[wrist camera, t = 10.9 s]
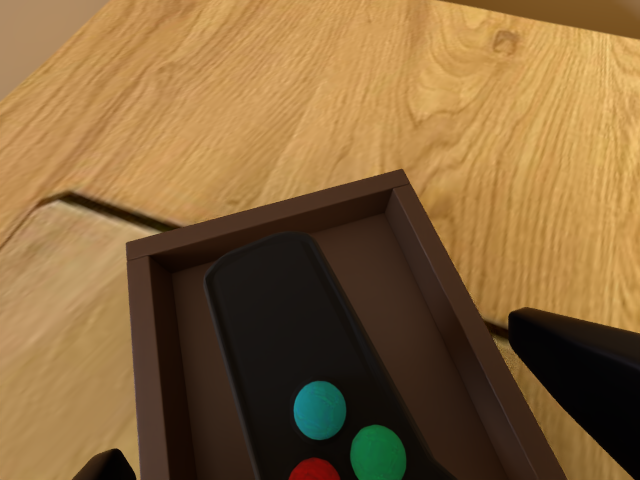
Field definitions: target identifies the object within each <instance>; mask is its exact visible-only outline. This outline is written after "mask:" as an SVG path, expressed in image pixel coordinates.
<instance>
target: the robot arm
mask: <svg viewBox="0 0 640 480" xmlns="http://www.w3.org/2000/svg"><path fill="white" fill-rule="evenodd" d="M508 331H509V343H510V345H511V347H512V349H513V350H514V352H515V353H516V354H517V355H518V356H519V358H520V359H521V360H522V361H523V362H524V363H525V365H526V366H527V367H528V368H529V369H530V371H531V372H532V373H533V374H534V375H535V376H536V378H537V379H538V380H539V381H540V382H541V383H542V385H543V386H544V387H545V388H546V389H547V391H548V392H549V393H550V394H551V395H552V396H553V398H554V399H555V400H556V401H557V402H558V403H559V404H560V405H561V407H562V408H563V409H564V410H565V411H566V412H567V413H568V414H569V415H570V416H571V417H572V418H573V419H574V420H575V421H576V422H577V423H578V424H579V425H580V426H581V427H582V428H583V429H584V430H585V431H586V432H587V433H588V434H589V435H590V436H591V437H592V438H593V439H594V440H595V441H596V442H597V443H598V444H599V445H600V446H601V447H602V448H603V449H604V450H605V451H606V452H607V453H608V454H609V455H610V456H611V457H612V458H613V459H614V460H615V461H616V462H617V463H618V464H619V465H620V466H621V467H622V468H623V469H624V470H625V471H626V472H627V473H628V474H629V475H630V476H631V477H632V478H633V479H634V480H640V333H636V332H631V331H627V330H623V329H619V328H614V327H610V326H606V325H602V324H597V323H593V322H589V321H585V320H580V319H576V318H572V317H568V316H563V315H559V314H555V313H551V312H546V311H542V310H538V309H533V308H529V307H524V308H521V309H518V310H515V311H512V312H511V313H510V314H509V316H508ZM72 480H136V475H135V473H134V471H133V469H132V468H131V466H130V465H129V463H128V461H127V460H126V458H125V457H124V455H123V453H122V452H121V451H120V450H119V449H111V450H108V451H105V452H102V453H99V454H97V455H95V456H94V457H92V458H91V459H90V460H89V462H88V463H87V464H86V465H85V466H84V467H83V468H82V469H81V470H80V471H79V472H78V473H77V475H76V476H75V477H74V478H73V479H72Z"/></svg>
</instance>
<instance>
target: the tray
mask: <svg viewBox="0 0 640 480" xmlns="http://www.w3.org/2000/svg"><path fill="white" fill-rule="evenodd" d="M285 231H299V232H305V233H308V234H310V235H311V236H312V237H313V238H315V239H316V241H317V242H318V244H319V246H320V248H321V250H322V251H323V253H324V255H325V257H326V259H327V260H328V262H329V264H330V266H331V267H332V269H333V271H334V273H335V275H336V277H337V278H338V280H339V282H340V284H341V286H342V288H343V289H344V291H345V293H346V295H347V297H348V299H349V300H350V302H351V304H352V306H353V308H354V310H355V311H356V313H357V315H358V317H359V319H360V321H361V322H362V324H363V326H364V328H365V330H366V332H367V334H368V335H369V337H370V339H371V341H372V343H373V345H374V346H375V348H376V350H377V352H378V354H379V356H380V357H381V359H382V361H383V363H384V365H385V367H386V368H387V370H388V372H389V374H390V376H391V378H392V379H393V381H394V383H395V385H396V387H397V389H398V390H399V392H400V394H401V396H402V398H403V400H404V402H405V403H406V405H407V407H408V409H409V411H410V413H411V414H412V416H413V418H414V420H415V422H416V424H417V425H418V427H419V429H420V431H421V433H422V435H423V436H424V438H425V440H426V442H427V444H428V446H429V448H430V450H431V452H432V455H433V456H434V458H435V459H436V460H437V461H438V462H439V463H440V464H441V465H442V466H443V467H445V468H446V469H447V470H448V471H449V472H450V473H451V474H453V475H454V476H455V477H456V478H457V479H458V480H567V478H566V476H565V474H564V472H563V470H562V468H561V467H560V465H559V463H558V461H557V459H556V457H555V455H554V453H553V452H552V450H551V448H550V446H549V444H548V442H547V440H546V438H545V436H544V435H543V433H542V431H541V429H540V427H539V425H538V423H537V421H536V419H535V418H534V416H533V414H532V412H531V410H530V408H529V406H528V404H527V402H526V401H525V399H524V397H523V395H522V393H521V391H520V389H519V387H518V385H517V384H516V382H515V380H514V378H513V376H512V374H511V372H510V370H509V368H508V367H507V365H506V363H505V361H504V359H503V357H502V355H501V353H500V351H499V350H498V348H497V346H496V344H495V342H494V340H493V338H492V336H491V335H490V333H489V331H488V329H487V327H486V325H485V323H484V321H483V319H482V318H481V316H480V314H479V312H478V310H477V308H476V306H475V304H474V302H473V301H472V299H471V297H470V295H469V293H468V291H467V289H466V287H465V285H464V284H463V282H462V280H461V278H460V276H459V274H458V272H457V270H456V268H455V267H454V265H453V263H452V261H451V259H450V257H449V255H448V253H447V251H446V250H445V248H444V246H443V244H442V242H441V240H440V238H439V236H438V235H437V233H436V231H435V229H434V227H433V225H432V223H431V221H430V219H429V218H428V216H427V214H426V212H425V210H424V208H423V206H422V204H421V202H420V201H419V199H418V197H417V195H416V193H415V191H414V189H413V187H412V185H411V184H410V182H409V180H408V178H407V176H406V174H405V172H404V170H403V169H399V170H396V171H392V172H388V173H384V174H381V175H377V176H373V177H370V178H366V179H362V180H358V181H355V182H351V183H347V184H343V185H340V186H336V187H332V188H328V189H325V190H321V191H317V192H313V193H310V194H306V195H302V196H298V197H295V198H291V199H287V200H283V201H280V202H276V203H272V204H269V205H265V206H261V207H257V208H254V209H250V210H246V211H242V212H239V213H235V214H231V215H227V216H224V217H220V218H216V219H212V220H209V221H205V222H201V223H197V224H194V225H190V226H186V227H183V228H179V229H175V230H171V231H168V232H164V233H160V234H156V235H153V236H149V237H145V238H141V239H138V240H134V241H130V242H127V243H126V256H127V276H128V292H129V307H130V322H131V338H132V353H133V369H134V384H135V400H136V415H137V431H138V446H139V461H140V477H141V480H256V479H255V475H254V471H253V468H252V464H251V461H250V457H249V453H248V450H247V446H246V442H245V439H244V435H243V431H242V428H241V424H240V421H239V417H238V413H237V410H236V406H235V402H234V399H233V395H232V391H231V388H230V384H229V381H228V377H227V373H226V370H225V366H224V362H223V359H222V355H221V351H220V348H219V344H218V341H217V337H216V333H215V330H214V326H213V322H212V318H211V315H210V311H209V307H208V303H207V299H206V295H205V291H204V288H203V283H204V276H205V273H206V272H207V270H208V269H209V268H210V267H211V265H213V264H214V263H215V262H216V261H217V260H218V259H219V258H220V257H222V256H223V255H225V254H226V253H228V252H230V251H232V250H234V249H237V248H239V247H242V246H244V245H247V244H249V243H252V242H254V241H257V240H259V239H262V238H264V237H267V236H269V235H272V234H274V233H279V232H285Z"/></svg>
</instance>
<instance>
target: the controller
mask: <svg viewBox="0 0 640 480" xmlns="http://www.w3.org/2000/svg"><path fill="white" fill-rule="evenodd" d="M203 288H204V291H205V295H206V299H207V303H208V307H209V311H210V315H211V318H212V322H213V326H214V330H215V333H216V337H217V341H218V344H219V348H220V351H221V355H222V359H223V362H224V366H225V370H226V373H227V377H228V381H229V384H230V388H231V391H232V395H233V399H234V402H235V406H236V410H237V413H238V417H239V421H240V424H241V428H242V431H243V435H244V439H245V442H246V446H247V450H248V453H249V457H250V461H251V464H252V468H253V471H254V475H255V479H256V480H458V479H457V478H456V477H455V476H454V475H453V474H451V473H450V472H449V471H448V470H447V469H446V468H445V467H443V466H442V465H441V464H440V463H439V462H438V461H437V460H436V459H435V458H434V456H433V455H432V452H431V450H430V448H429V446H428V444H427V442H426V440H425V438H424V436H423V435H422V433H421V431H420V429H419V427H418V425H417V424H416V422H415V420H414V418H413V416H412V414H411V413H410V411H409V409H408V407H407V405H406V403H405V402H404V400H403V398H402V396H401V394H400V392H399V390H398V389H397V387H396V385H395V383H394V381H393V379H392V378H391V376H390V374H389V372H388V370H387V368H386V367H385V365H384V363H383V361H382V359H381V357H380V356H379V354H378V352H377V350H376V348H375V346H374V345H373V343H372V341H371V339H370V337H369V335H368V334H367V332H366V330H365V328H364V326H363V324H362V322H361V321H360V319H359V317H358V315H357V313H356V311H355V310H354V308H353V306H352V304H351V302H350V300H349V299H348V297H347V295H346V293H345V291H344V289H343V288H342V286H341V284H340V282H339V280H338V278H337V277H336V275H335V273H334V271H333V269H332V267H331V266H330V264H329V262H328V260H327V259H326V257H325V255H324V253H323V251H322V250H321V248H320V246H319V244H318V242H317V241H316V239H315V238H313V237H312V236H311V235H310V234H308V233H305V232H299V231H285V232H279V233H274V234H272V235H269V236H267V237H264V238H262V239H259V240H257V241H254V242H252V243H249V244H247V245H244V246H242V247H239V248H237V249H234V250H232V251H230V252H228V253H226V254H225V255H223V256H222V257H220V258H219V259H218V260H217V261H216V262H215V263H214V264H213V265H211V267H210V268H209V269H208V270H207V272H206V273H205V276H204V283H203Z"/></svg>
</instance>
